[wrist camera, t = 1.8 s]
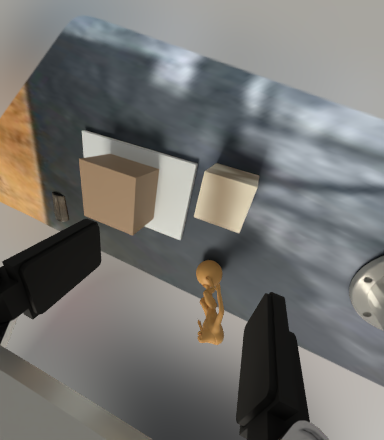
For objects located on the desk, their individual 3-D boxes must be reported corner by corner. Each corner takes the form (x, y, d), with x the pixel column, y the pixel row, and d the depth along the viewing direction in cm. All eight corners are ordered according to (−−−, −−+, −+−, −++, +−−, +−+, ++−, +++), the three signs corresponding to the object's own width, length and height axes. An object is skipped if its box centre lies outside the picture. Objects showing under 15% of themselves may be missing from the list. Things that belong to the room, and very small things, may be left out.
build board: (198, 163, 24) (179, 173, 19) (182, 237, 30) (164, 260, 25) (86, 130, 28) (44, 130, 23) (91, 202, 34) (59, 216, 28)
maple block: (259, 175, 22) (257, 187, 18) (244, 214, 25) (239, 233, 20) (216, 163, 23) (204, 171, 19) (206, 201, 26) (193, 216, 22)
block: (70, 194, 37) (63, 196, 35) (73, 221, 39) (66, 224, 38) (54, 190, 37) (46, 192, 35) (58, 217, 40) (50, 220, 38)
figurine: (208, 240, 29) (176, 302, 18) (246, 256, 28) (234, 331, 17) (194, 277, 33) (162, 344, 23) (227, 292, 32) (208, 369, 22)
